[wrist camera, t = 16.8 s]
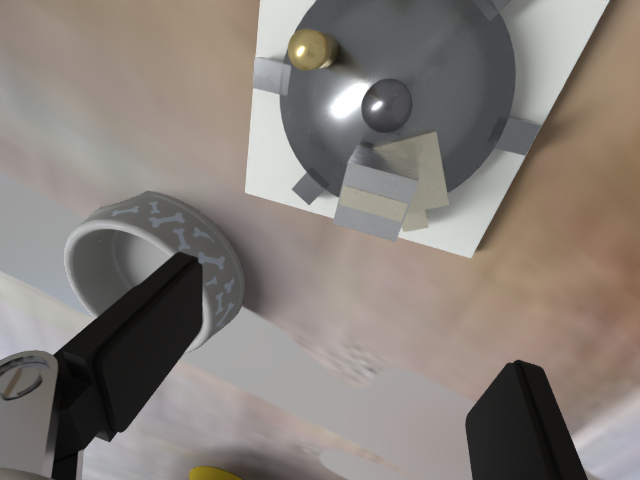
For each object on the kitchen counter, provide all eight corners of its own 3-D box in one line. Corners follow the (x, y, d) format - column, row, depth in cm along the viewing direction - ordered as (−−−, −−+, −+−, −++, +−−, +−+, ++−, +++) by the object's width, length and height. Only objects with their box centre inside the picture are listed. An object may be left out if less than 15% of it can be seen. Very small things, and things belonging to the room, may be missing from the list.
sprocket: (381, -168, 16) (369, -257, 11) (615, 65, 18) (684, 70, 13) (226, 128, 25) (184, 146, 21) (392, 260, 27) (388, 302, 23)
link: (417, 160, 21) (418, 181, 18) (398, 214, 23) (395, 242, 20) (358, 144, 22) (347, 162, 18) (343, 198, 24) (332, 223, 20)
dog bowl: (67, 218, 37) (18, 242, 32) (193, 170, 30) (154, 191, 25) (153, 332, 43) (122, 365, 39) (272, 314, 36) (252, 352, 32)
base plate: (627, -52, 17) (640, -58, 16) (468, 250, 27) (470, 258, 26) (277, -116, 19) (270, -126, 18) (250, 187, 29) (245, 192, 28)
